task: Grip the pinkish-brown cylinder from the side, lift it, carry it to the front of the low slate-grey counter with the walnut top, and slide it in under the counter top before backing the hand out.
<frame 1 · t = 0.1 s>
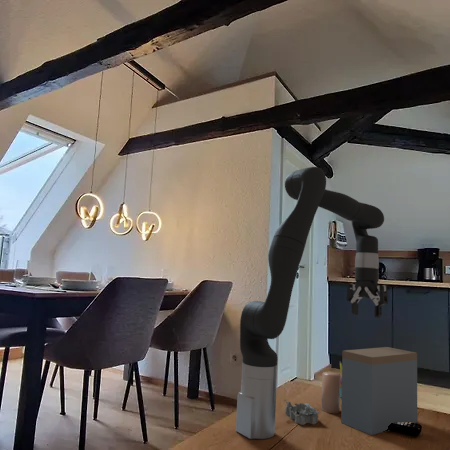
hand: (366, 316, 133), 29 cm above the table, tool pointing down, fingers open, 8 cm apart
egg carton: (301, 419, 117), on the table
counter: (379, 422, 117), on the table
cupcake: (345, 397, 142), on the table
pinkish-brown cylinder: (330, 410, 126), on the table
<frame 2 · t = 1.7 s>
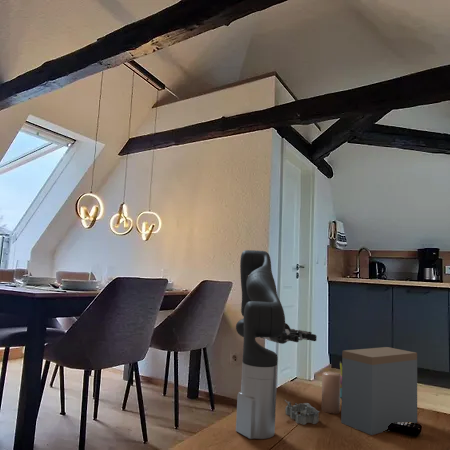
hand: (307, 338, 137), 20 cm above the table, tool horizontal, fingers open, 8 cm apart
nothing on the table moved.
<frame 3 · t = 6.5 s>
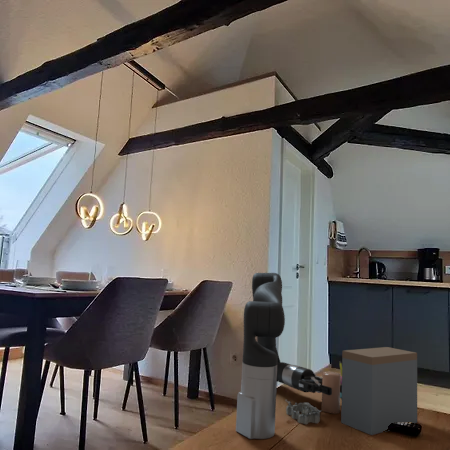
hand: (337, 390, 124), 7 cm above the table, tool horizontal, fingers closed on pinkish-brown cylinder, 5 cm apart
pinkish-brown cylinder: (330, 410, 126), on the table, touching gripper
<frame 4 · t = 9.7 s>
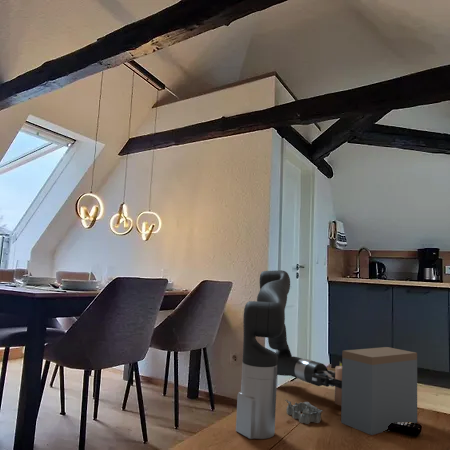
hand: (350, 384, 127), 8 cm above the table, tool horizontal, fingers closed on pinkish-brown cylinder, 5 cm apart
pinkish-brown cylinder: (343, 403, 128), point 2 cm above the table, touching gripper
when the fingers open (7 cm above the table, at t = 13.3 s): pinkish-brown cylinder stays where it is, on the table.
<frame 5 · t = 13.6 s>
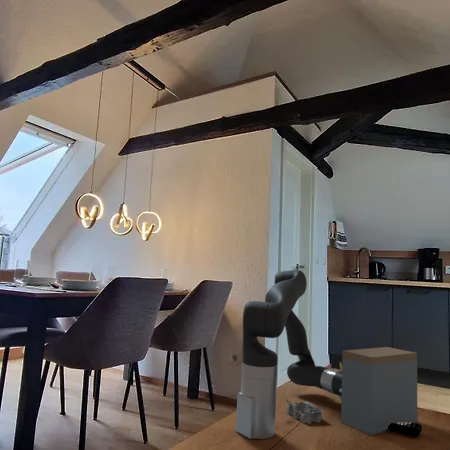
hand: (382, 396, 117), 7 cm above the table, tool horizontal, fingers open, 8 cm apart
pinkish-brown cylinder: (376, 421, 118), on the table
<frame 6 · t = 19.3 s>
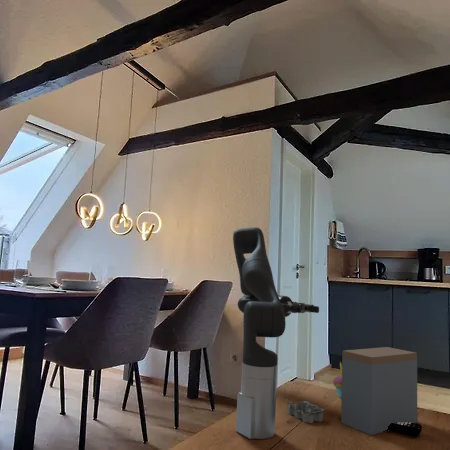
hand: (309, 309, 136), 30 cm above the table, tool horizontal, fingers open, 8 cm apart
at the end: pinkish-brown cylinder inside the target area (0.1 cm from its centre), on the table; pinkish-brown cylinder tilted 0°; the gripper is holding nothing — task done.
